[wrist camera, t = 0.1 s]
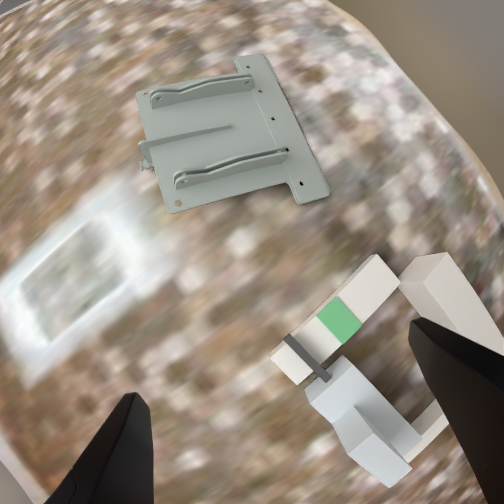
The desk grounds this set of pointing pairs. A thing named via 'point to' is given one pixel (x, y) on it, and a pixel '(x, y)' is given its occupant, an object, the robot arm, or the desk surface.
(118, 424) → the robot arm
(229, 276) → the desk surface
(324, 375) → the gauge plunger
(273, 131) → the metal bracket
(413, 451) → the gauge housing
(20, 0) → the computer monitor
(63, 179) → the desk surface
